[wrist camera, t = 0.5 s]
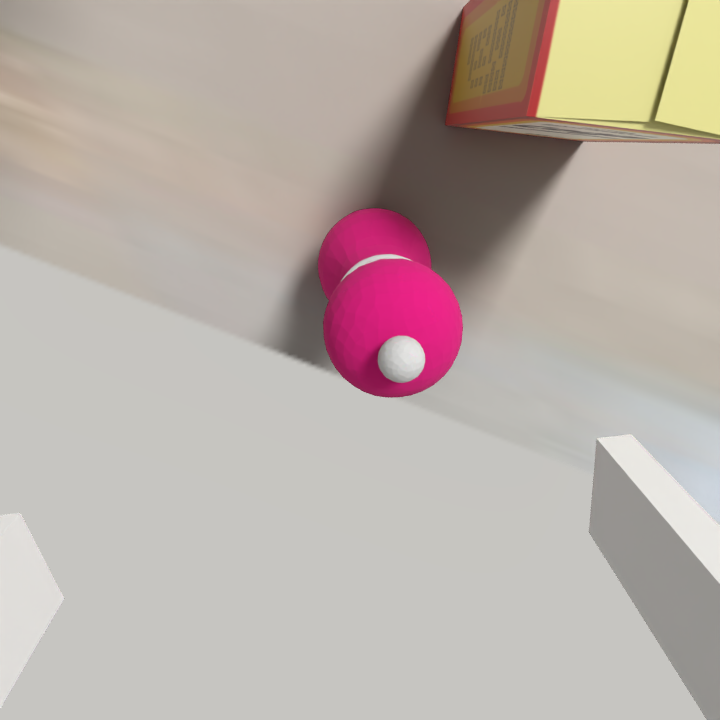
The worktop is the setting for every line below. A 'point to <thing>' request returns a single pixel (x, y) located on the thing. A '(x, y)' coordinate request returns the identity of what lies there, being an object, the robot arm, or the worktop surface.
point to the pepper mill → (386, 305)
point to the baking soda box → (590, 70)
